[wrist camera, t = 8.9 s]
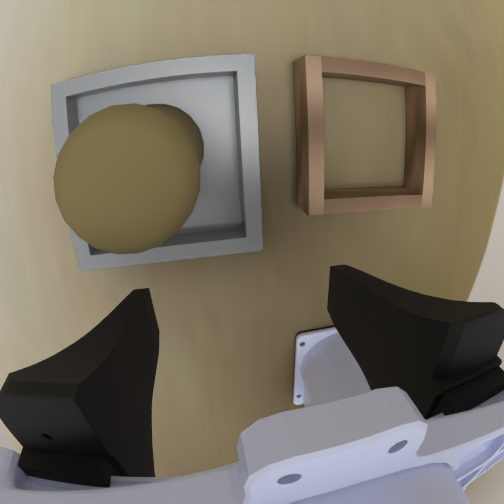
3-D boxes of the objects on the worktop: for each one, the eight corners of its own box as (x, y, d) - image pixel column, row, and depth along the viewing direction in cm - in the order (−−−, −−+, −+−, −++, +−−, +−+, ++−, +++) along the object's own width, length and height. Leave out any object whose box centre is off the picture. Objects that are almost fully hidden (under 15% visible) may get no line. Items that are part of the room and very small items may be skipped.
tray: (256, 236, 23) (263, 250, 20) (90, 255, 21) (80, 271, 19) (247, 61, 18) (254, 54, 15) (65, 87, 16) (50, 85, 14)
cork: (95, 175, 18) (11, 238, 8) (135, 88, 17) (72, 59, 7) (177, 212, 20) (167, 308, 10) (221, 128, 19) (254, 141, 9)
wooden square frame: (412, 198, 23) (430, 207, 21) (297, 205, 22) (308, 216, 20) (415, 76, 19) (435, 75, 17) (292, 61, 18) (305, 55, 16)
